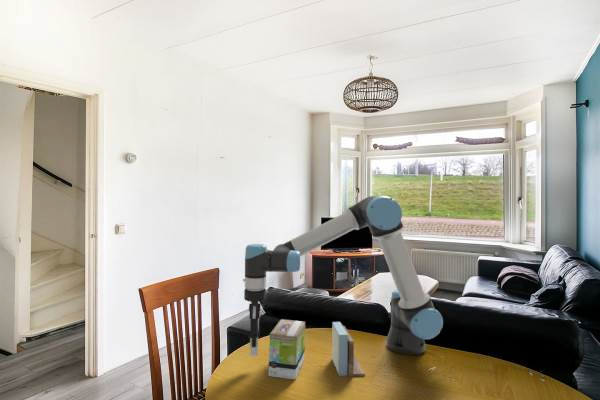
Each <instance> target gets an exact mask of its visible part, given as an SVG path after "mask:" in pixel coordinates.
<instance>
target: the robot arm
mask: <svg viewBox="0 0 600 400" xmlns="http://www.w3.org/2000/svg"><path fill="white" fill-rule="evenodd" d="M402 217H403V211H402V207H401V205H400V204H399V202H398V201H397V200H396V199H394V198H392V197H389V196H387V195H373V196H372V195H371V196H367V197H365V198H363V199H362V200H359V201H358V202H356V203H355V204H354V205H352V206H349V207H347V208H346V210H345V212H344V213H342V214H339V215H337V216H336V217H334V218H331V219H329V220H328V221H325V222H324V223H322V224H320V225H318V226H316V227H314V228H312V229H310V230H308V231H306V232H304V233H302V234H300V235H298V236H297V237H294V238H292V239H290V240H289V241H286V242H285V243H281V244H278V245H276V246H275V248H274V249H273V250H269V249H268V247H267V245H265V244H262V243H251V244H248V245H246V246H245V253H244V254H245V255H244V278H243V279H242V282H244V291H243V295H244V297H243V298H244V300H245V301H246V302H250V303H249V306H248V312H249V319H250V330H249V331H250V335H248V336H247V337H248V339H249V356H250V357H255V356H258V351H259V349H258V348H259V343H258V342H259V336H260V335H261V333H260V332H259V319H260V313H261V303H259V302H263V301H265V300H266V297H267V296H266V295H267V294H266V292H267V290H266V287H267V273H268V272H269V273H272V272H273V273H274V272H275V273H279V272H280V273H282V272H283V273H294V272H299V271H300V269H301V257H302V256H304V255H307V254H308V253H310V252H312V251H314V250H316V249H318V248H321V247H322V246H324V245H326V244H328V243H330V242H332V241H334V240H336V239H338V238H340V237H342V236H343V235H346V234H348V233H349V232H352V231H354V230H355V231H356V230H357V231H359V230H361V229H363V228H366V227H368V228H369V231H370V234H371V236H372V238H373V239H376V240H378V243H379V245H380V247H381V251H382V253H383V256H384V258H385V262H386V263H387V266H388V269H389V271H390V275H391V277H392V279H393V281H394V282H393V283H394V285H395V287H396V289H395V290H393V291H391V296H390V307H391V309H390V312H391V313H390V315H391V317H390V328H389V332H388V334H387V337H386V347H387V348H388V349H389V350H390V351H392V352H394V353H398V354H401V355H407V356H415V355H416V356H417V355H421V354H424V353H425V351H426V342H425V340H431V339H433V338H435V337H437V336H438V335H439V334H440V333H441V331H442V329H443V326H444V319H443V316H442V314H441V312H440V311H438V309H436V308H435V306H434V304H433V302H432V301H433V300H432V298H431V296H430V294H429V293H427V292H425V291H424V290H423V287H422V285H421V281H420V279H419V276H418V273H417V271H416V269H415V266H414V263H413V260H412V257H411V256H410V253H409V250H408V248H407V245H406V243H405V239H404V236H403V235H402V230H403V229H404V225H403V222H402Z"/></svg>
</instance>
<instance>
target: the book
mask: <svg viewBox="0 0 600 400" xmlns="http://www.w3.org/2000/svg"><path fill="white" fill-rule="evenodd" d="M331 324H332V325H331V326H332V327H331V328H332V329H331V330H332V332H331V334H332V337H331V343H332V344H331V360H332V362H333V365H334V368H335V367H336V368H335V369H336V370H335V371H336V373H337V374H338V377H340V376H348V373H347V363H348V334H347V332H346V331H345V329H344V327H343V326H344V325H343V324H342V323H341V321H332V323H331Z"/></svg>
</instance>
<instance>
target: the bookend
mask: <svg viewBox="0 0 600 400" xmlns="http://www.w3.org/2000/svg"><path fill="white" fill-rule="evenodd" d="M342 326H343V327H344V329H345V331H346V332H347V334H348V363H347V376H348V377H351V378H352V377H365V376H366V374H365V371H364V369H363V368H362V365H361V363H360V362H359V360H358V359H357V357H356V355H355V353H354V352H355V351H354V350H355V341H354V340H353V339H354V338H352V336H351V334H350V333H349V331H348V329H347V328H346V326H345V325H342Z"/></svg>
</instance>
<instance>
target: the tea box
mask: <svg viewBox="0 0 600 400" xmlns="http://www.w3.org/2000/svg"><path fill="white" fill-rule="evenodd" d="M305 343H306V321H302V320H301V321H300V320H292V319H280V320H279V321H278V322H277V324H276V326H274V328H273V329H272V331H271V332H270V333H269V347H268V348H269V349H268V350H269V351H268V354H269V356H268V376H269V377H274V378H279V379H288V380H296V379H297V377H298V375H299V372H300V371H301V368H302V366H303V363H304V361H305V346H306V345H305Z"/></svg>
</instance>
